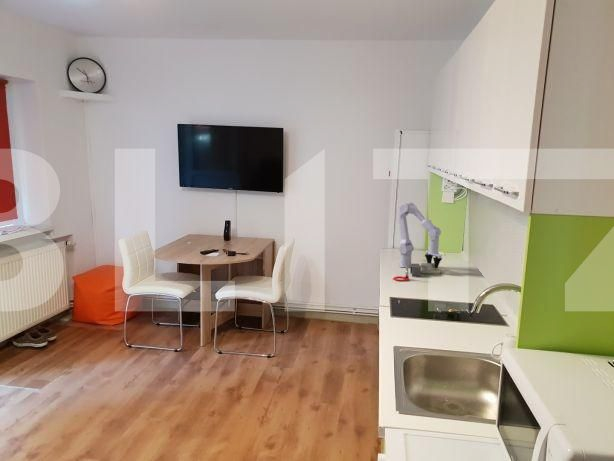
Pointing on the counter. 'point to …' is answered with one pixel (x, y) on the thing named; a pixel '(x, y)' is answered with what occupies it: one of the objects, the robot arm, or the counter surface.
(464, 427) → the counter surface
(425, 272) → the tray
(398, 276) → the tow hook
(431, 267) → the pin
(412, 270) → the bracket
